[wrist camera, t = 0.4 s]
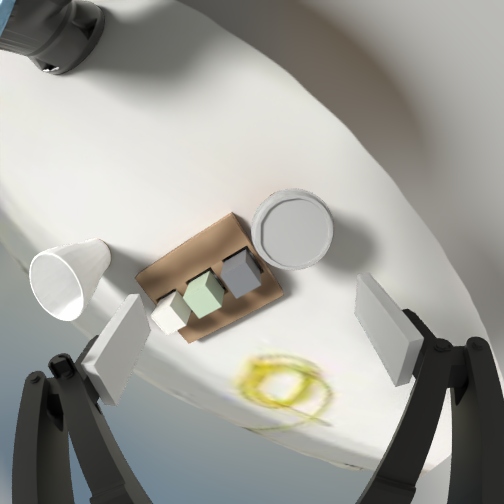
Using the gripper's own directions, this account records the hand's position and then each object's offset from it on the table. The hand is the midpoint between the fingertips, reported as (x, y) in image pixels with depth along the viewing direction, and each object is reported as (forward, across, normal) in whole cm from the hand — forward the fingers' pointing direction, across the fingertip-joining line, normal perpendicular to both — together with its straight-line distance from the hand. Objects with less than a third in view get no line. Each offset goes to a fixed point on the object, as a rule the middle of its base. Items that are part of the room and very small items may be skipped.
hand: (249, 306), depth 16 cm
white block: (+25, -14, -14) cm, 32 cm away
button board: (+27, -8, -11) cm, 30 cm away
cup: (+27, -27, -4) cm, 39 cm away
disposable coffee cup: (+27, +5, -1) cm, 28 cm away
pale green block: (+25, -8, -11) cm, 28 cm away
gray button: (+25, -2, -8) cm, 26 cm away
